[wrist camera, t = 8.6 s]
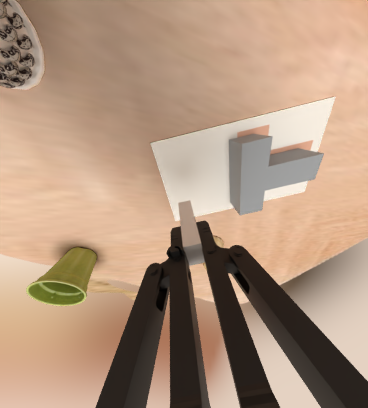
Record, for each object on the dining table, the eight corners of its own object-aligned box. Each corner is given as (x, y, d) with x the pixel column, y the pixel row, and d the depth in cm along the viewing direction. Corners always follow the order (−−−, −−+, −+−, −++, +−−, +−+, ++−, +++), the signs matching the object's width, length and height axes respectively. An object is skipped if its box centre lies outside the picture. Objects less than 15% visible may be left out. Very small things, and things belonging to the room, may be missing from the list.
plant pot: (83, 270, 35) (61, 310, 28) (50, 250, 30) (12, 292, 23) (112, 259, 34) (97, 297, 26) (82, 236, 29) (53, 275, 21)
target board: (150, 142, 20) (150, 143, 20) (334, 96, 19) (336, 96, 19) (175, 220, 29) (175, 221, 29) (303, 191, 28) (304, 191, 28)
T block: (228, 139, 21) (241, 143, 17) (304, 121, 20) (335, 121, 17) (229, 202, 27) (239, 215, 23) (287, 189, 27) (307, 200, 23)
